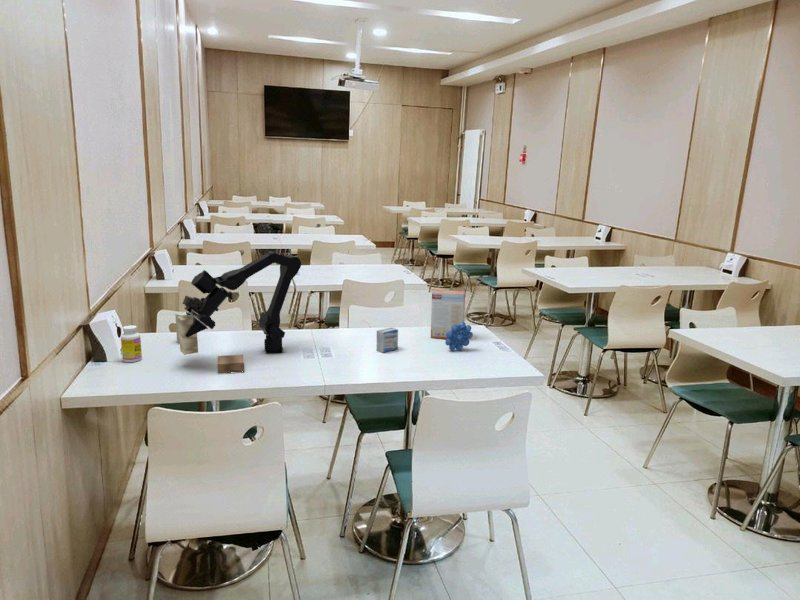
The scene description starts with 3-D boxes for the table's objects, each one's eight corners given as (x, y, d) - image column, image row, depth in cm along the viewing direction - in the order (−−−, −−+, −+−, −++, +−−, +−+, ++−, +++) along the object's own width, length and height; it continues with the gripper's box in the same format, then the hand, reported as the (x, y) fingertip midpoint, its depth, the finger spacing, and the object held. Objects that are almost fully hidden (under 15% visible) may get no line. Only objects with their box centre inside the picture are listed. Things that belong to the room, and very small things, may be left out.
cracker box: (463, 337, 259) (466, 291, 254) (462, 341, 253) (464, 293, 249) (432, 334, 262) (434, 288, 257) (430, 338, 256) (431, 291, 252)
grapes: (468, 346, 246) (469, 319, 243) (473, 351, 240) (475, 323, 237) (441, 348, 243) (442, 320, 241) (446, 353, 237) (447, 324, 234)
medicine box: (383, 353, 235) (383, 332, 233) (376, 350, 238) (376, 330, 236) (397, 349, 240) (398, 329, 238) (390, 346, 243) (391, 326, 241)
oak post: (194, 348, 218) (191, 314, 215) (198, 352, 214) (195, 318, 211) (180, 350, 215) (177, 316, 212) (184, 354, 211) (181, 320, 208)
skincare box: (182, 344, 240) (180, 315, 237) (176, 342, 242) (174, 313, 239) (196, 341, 244) (194, 312, 242) (190, 338, 247) (188, 311, 244)
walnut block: (243, 364, 219) (243, 354, 218) (244, 373, 211) (243, 362, 210) (218, 366, 217) (218, 356, 216) (217, 374, 208) (217, 364, 208)
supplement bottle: (136, 363, 217) (133, 329, 214) (119, 362, 217) (116, 329, 214) (145, 357, 223) (142, 324, 220) (128, 356, 224) (125, 324, 221)
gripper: (188, 283, 219) (159, 315, 215) (204, 292, 204) (173, 328, 200) (210, 301, 225) (183, 333, 221) (227, 311, 210) (198, 346, 207)
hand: (184, 334), depth 212 cm, fingers closed on oak post, 5 cm apart
